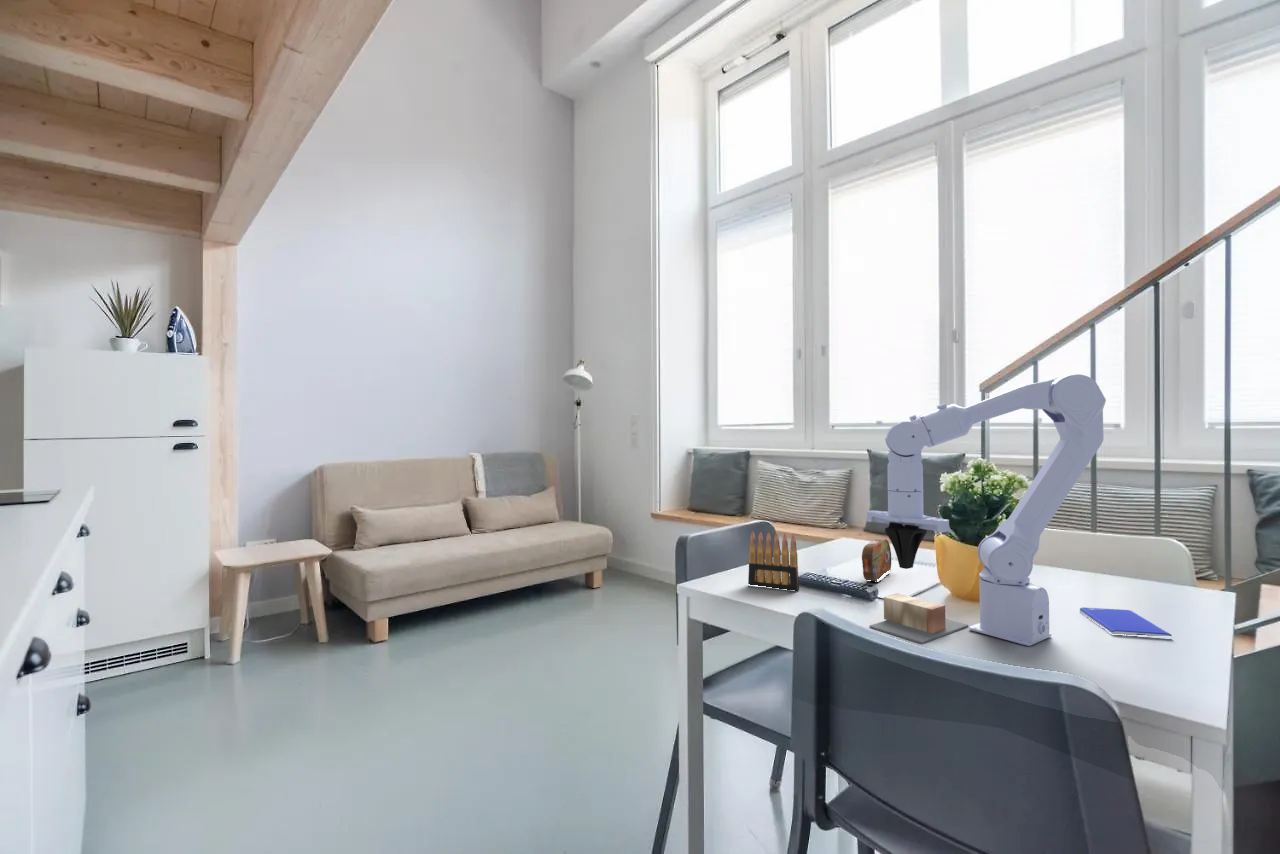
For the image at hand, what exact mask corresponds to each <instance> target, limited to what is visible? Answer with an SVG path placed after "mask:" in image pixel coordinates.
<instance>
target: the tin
mask: <svg viewBox="0 0 1280 854" xmlns="http://www.w3.org/2000/svg"><path fill="white" fill-rule="evenodd" d="M861 561H862V562H861V564H862V574H863V578H864V580H865V579H866V580H871V581H876V582H875V583H877V579H879V578H880V577H881V576H882V575H883V574H884V573H886V572H887V571H889V570H890V571H891V568H892V551H891V545H890V542H889V541H888V540H887V538H886V539H885V538H884V539H877V538H876V539H874V540H872V541H870V542H869V543H867V544H865V545H864V547H863V548H862V552H861ZM866 580H865V581H866Z"/></svg>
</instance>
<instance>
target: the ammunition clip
mask: <svg viewBox="0 0 1280 854" xmlns="http://www.w3.org/2000/svg"><path fill="white" fill-rule="evenodd" d="M749 539H750V540H749V551H748V555H749V556H748V557H749V558H748V559H749V560H748V579H747V580H748V583H747V585H748V584H750V585H758V586H766V587H772V588H779V589H787V590H795V591H797V592H799V590H800V582H799V578H800V577H799V566H798V560H799V559H798V551H797V540H796V535H795V534H792V535H791V539H790V549H789V546H788V545H789V541H788V537H787V534H786V533H784V534H783V536H782V541H781V546H782V547H781V546H780V539H779V534H778V533H777V532H775V535H774V538H773V547H772V537H771V534H770V532H767V534H766V537H765V545H764V536H763V533H762V532H761V531H760V532H759V533H758V538H757V542H756V535H755V533H754V531H751V534H750V537H749ZM756 544H757V545H756ZM780 547H781V548H780ZM789 551H790V552H789ZM795 591H794V592H795Z"/></svg>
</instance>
